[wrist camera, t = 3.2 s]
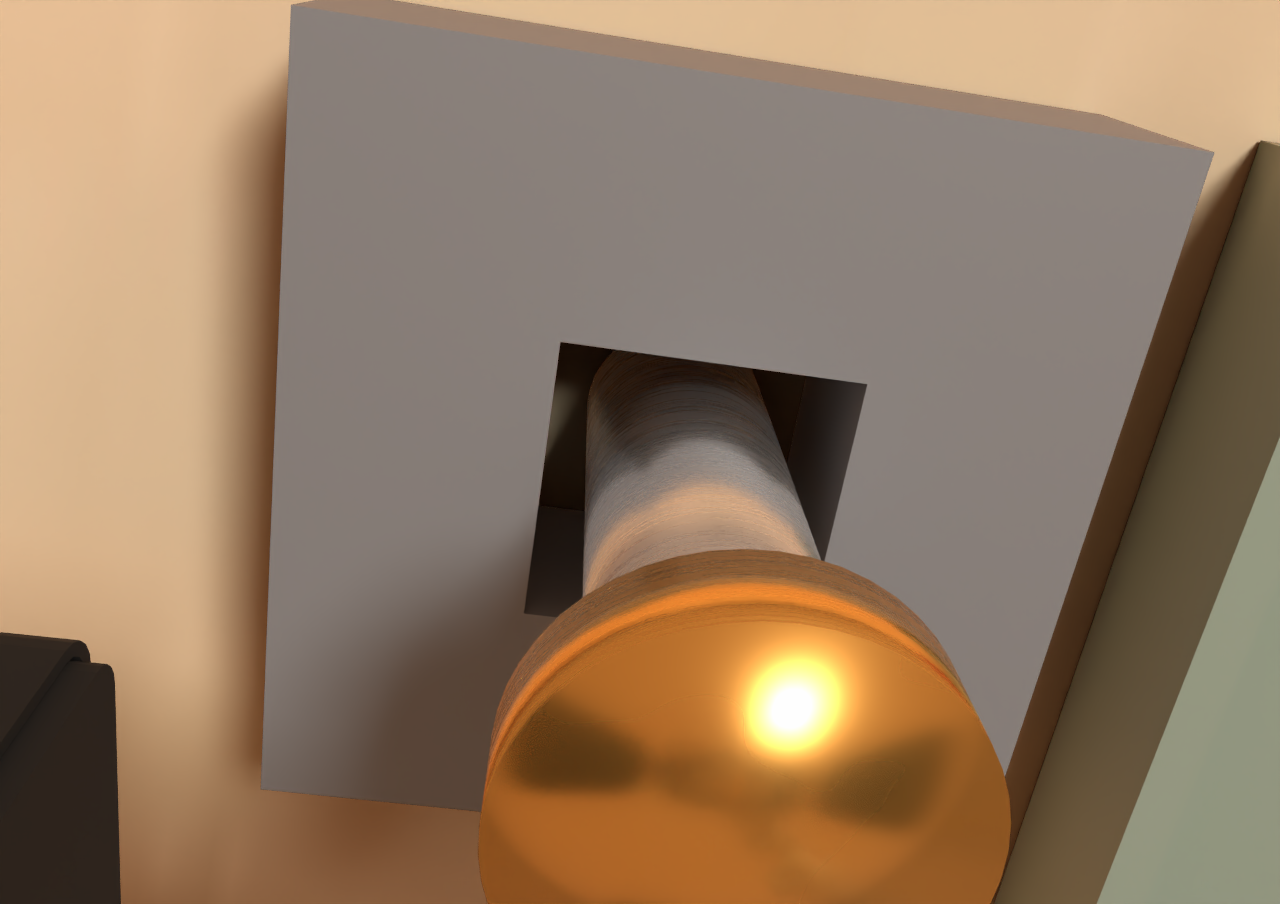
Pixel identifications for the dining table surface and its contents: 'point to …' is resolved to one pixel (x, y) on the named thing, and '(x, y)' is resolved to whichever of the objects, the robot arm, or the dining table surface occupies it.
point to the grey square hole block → (671, 348)
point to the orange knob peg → (728, 691)
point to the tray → (1184, 633)
